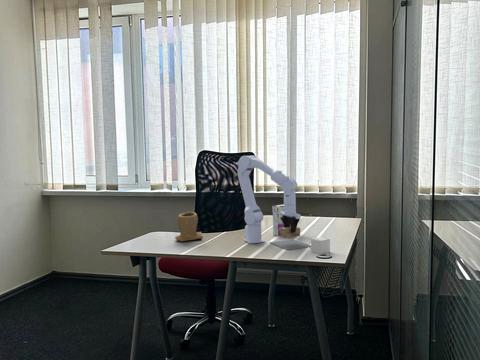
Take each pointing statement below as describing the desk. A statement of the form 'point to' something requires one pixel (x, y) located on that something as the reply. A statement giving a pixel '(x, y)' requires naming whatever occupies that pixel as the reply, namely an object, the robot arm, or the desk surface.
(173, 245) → the desk surface
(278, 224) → the candy bar box
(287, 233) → the brown box with strip
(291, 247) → the rubber mat
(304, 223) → the desk surface
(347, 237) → the desk surface
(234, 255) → the desk surface
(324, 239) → the white cube
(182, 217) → the stone cup
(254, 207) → the robot arm
